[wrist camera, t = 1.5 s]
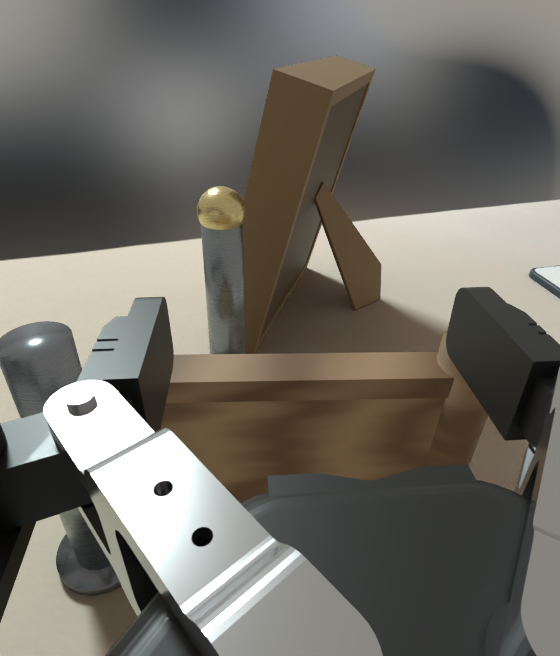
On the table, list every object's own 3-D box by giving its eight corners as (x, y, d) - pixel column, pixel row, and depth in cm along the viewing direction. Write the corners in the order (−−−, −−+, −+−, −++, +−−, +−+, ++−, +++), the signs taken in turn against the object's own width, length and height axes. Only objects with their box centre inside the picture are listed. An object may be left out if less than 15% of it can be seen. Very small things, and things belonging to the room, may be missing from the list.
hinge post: (41, 558, 28) (-60, 346, 19) (113, 500, 31) (56, 297, 23) (92, 614, 25) (3, 399, 16) (164, 544, 29) (123, 335, 20)
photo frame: (211, 350, 46) (196, 63, 32) (276, 262, 63) (285, 52, 49) (358, 383, 43) (412, 79, 29) (384, 281, 60) (426, 61, 46)
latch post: (188, 389, 41) (165, 188, 31) (227, 361, 45) (218, 172, 35) (231, 414, 39) (222, 204, 29) (269, 383, 42) (273, 186, 32)
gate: (137, 564, 27) (86, 371, 19) (147, 518, 29) (105, 330, 21) (447, 552, 28) (523, 364, 20) (430, 509, 30) (493, 326, 22)
